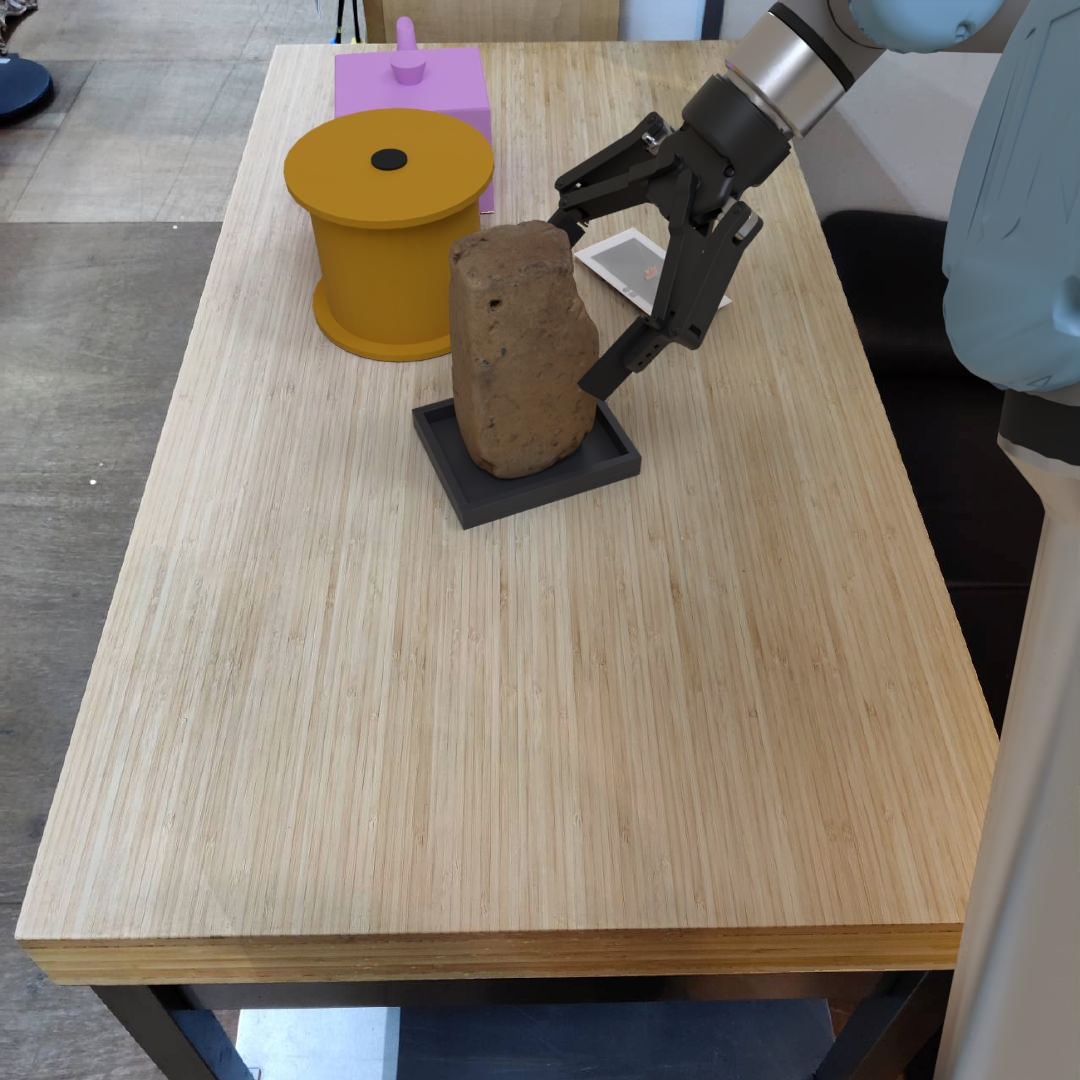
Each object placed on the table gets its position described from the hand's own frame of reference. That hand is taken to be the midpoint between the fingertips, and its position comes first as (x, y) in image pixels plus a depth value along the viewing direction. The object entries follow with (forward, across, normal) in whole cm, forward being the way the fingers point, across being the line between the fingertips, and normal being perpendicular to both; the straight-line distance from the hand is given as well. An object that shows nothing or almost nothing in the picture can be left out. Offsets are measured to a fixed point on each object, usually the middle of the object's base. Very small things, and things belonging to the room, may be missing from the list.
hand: (552, 336), depth 75 cm
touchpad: (-4, +16, -21) cm, 27 cm away
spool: (+12, +23, -4) cm, 26 cm away
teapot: (+6, +43, -10) cm, 45 cm away
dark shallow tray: (+10, 0, -6) cm, 12 cm away
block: (+10, 0, -6) cm, 11 cm away
